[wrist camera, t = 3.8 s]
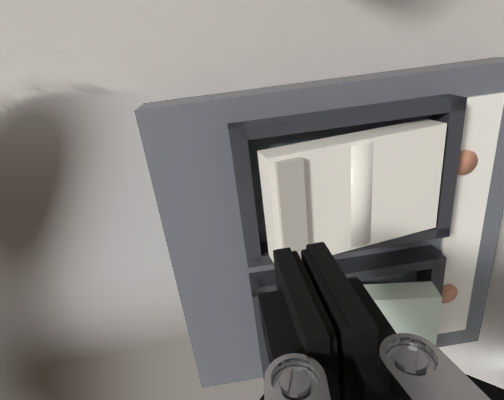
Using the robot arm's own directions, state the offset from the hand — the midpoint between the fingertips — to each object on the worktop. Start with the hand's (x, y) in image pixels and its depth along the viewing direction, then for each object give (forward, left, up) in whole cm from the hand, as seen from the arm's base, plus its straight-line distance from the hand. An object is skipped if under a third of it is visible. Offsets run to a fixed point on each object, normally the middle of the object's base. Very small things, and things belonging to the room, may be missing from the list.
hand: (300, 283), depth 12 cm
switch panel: (-4, +4, -11) cm, 12 cm away
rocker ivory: (-4, 0, -6) cm, 7 cm away
